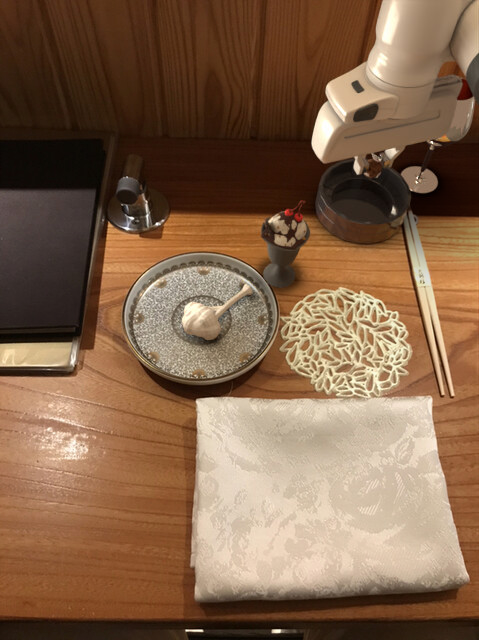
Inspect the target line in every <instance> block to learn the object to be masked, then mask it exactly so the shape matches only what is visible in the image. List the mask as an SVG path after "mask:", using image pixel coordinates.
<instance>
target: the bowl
mask: <svg viewBox="0 0 479 640" xmlns="http://www.w3.org/2000/svg"><path fill="white" fill-rule="evenodd" d="M365 159H366V161H367V160H369V159H368V158H365ZM354 163H355V158H348V159H344V160H339V161H337V162H336V163H334V164H332V165H331V166H328V168H327V169H326V171H324V172H323V173H322V175H321V178H320V181H319V184H318V188H317V193H316V198H315V203H314V205H315V213H316V216H317V218H318V220H319V222H320V223H321V225H322V226H323V227H324V228H325V229H326V230H327V231H329V233H330V234H332V235H334V236H335V237H338V238H340V239H342V240H343V241H347V242H352V243H355V244H375V243H379V242H383V241H386V240H388V239H389V238H391V237H393V236H394V235H396V233H398V231H399V229H400V228H401V227H402V225H403V224H404V223H403V222H404V220H405V218H406V215H407V213H408V210H409V208H410V205H411V204H410V203H411V199H412V193H411V190H410V189H409V186H408V184H407V182H406V181H405V179H404V178H403V177H402V175H401V173H399V172H398V171H397V170H395V169H394V168H393V166H391V167H389V168H385V169H382V171H381V173H380V175H379V176H378V177H377V178H376V177H375V178H368V177H367V176H365V175H364V173H363V174H359V175H357V173H356V172H355V170H354Z"/></svg>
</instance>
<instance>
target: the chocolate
mask: <svg viewBox="0 0 479 640" xmlns="http://www.w3.org/2000/svg"><path fill="white" fill-rule="evenodd" d="M370 154H371V155H372V156H371V157H372V158H370V159H369V160H367V162H368V163H369V168H368V169H367V170H368V172H367V173H364V175H365V176H367V177H368V178H375V177H376V178H377V177H378V176H379V175H380V173H381V171H382V165H381V163H380V162H379V161H380V159H379V155H378V156H377V154H375V153H370ZM381 158H382V157H381ZM378 160H379V161H378ZM381 160H382V159H381Z"/></svg>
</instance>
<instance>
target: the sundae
mask: <svg viewBox="0 0 479 640" xmlns="http://www.w3.org/2000/svg"><path fill="white" fill-rule="evenodd" d="M303 204H306V200H300V201H299V203H298V204H297V206H296V207H294V208H292V209H291V208H286V209H285V211H280V212H278V213H275V214H273V215H270V216H267V217H266V218H264V219H263V222H262V224H261V229H260V238H261V239H262V240H263V241H264V242H265V243H266V249H267V255H268V258H269V260H270V261H269V262H271V263H269V264H267V265H266V266H265V268H263V269H264V270H263V273H262V276H263V279H264V281H265V280H266V281H267V282H266V281H265V282H266V283H267V284H268V285H270V287H271V286H272V287H274V288H279V289H282V288H287V287H290V286H291V285H292V284H293V282H294V281H295V279H296V272H295V270H294V268H293V267H292V266H290V265H291V264H293V263H294V262H295V260H296V259H297V257H298V254H299V252H300V250H301V248H302V247H303V246H305V245H306V243H307V242H308V241H309V239H310V237H311V229H310V227H309V225H308V223H307V221H306V220H305V219H304V216H303V214H301V208H302V206H303ZM298 208H299V209H298ZM296 209H298V212H296V213H294V211H295V210H296Z"/></svg>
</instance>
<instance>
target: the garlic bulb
mask: <svg viewBox="0 0 479 640" xmlns="http://www.w3.org/2000/svg"><path fill="white" fill-rule="evenodd" d="M253 293H254V291H253V289H252V287H251V286H250V285H248V284H247V283H245V284H244V285H243V287H242V289H241V290H240V291H239V292H238V293H236V294H235V295H234V296H232V297H231V298H230V299H229V300H227V301H226V302H225V303H224V304H223V305H217V306H208V305H204V304H203V303H201V302H198V303H197V301H190V302H189V303H188V304H186V305H185V307H184V309H183V316H182V318H181V324H182V326H183V332H184V333H186V334H187V335H189V336H192V335H194V336H195V337H198V338H199V337H200V338H203V339H204V340H207V341H211V340H215V339H217V337H218V336H219V334H220V333H221V331H222V329H221V324H220V321H219V318H220V317H221V316H222V315H223V314H224V313H226V311H227V310H229V309H230V307H231V306H233V305H234V304H235V303H236V302H238V301H239V300H241V299H242V298H244V297H245V296H252V295H253Z"/></svg>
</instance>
